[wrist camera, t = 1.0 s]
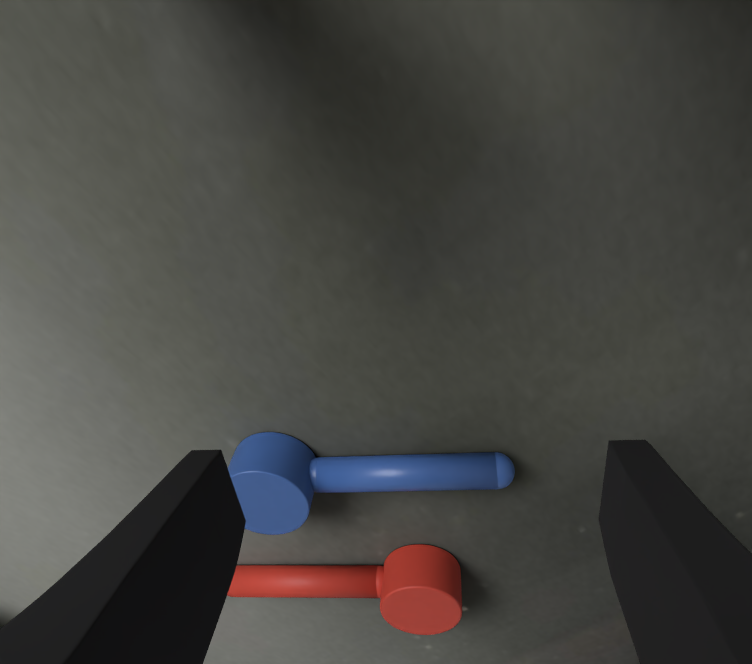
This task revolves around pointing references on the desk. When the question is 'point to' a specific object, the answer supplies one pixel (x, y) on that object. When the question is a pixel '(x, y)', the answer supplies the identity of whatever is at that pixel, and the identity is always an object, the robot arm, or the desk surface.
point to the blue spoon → (343, 477)
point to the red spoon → (372, 586)
